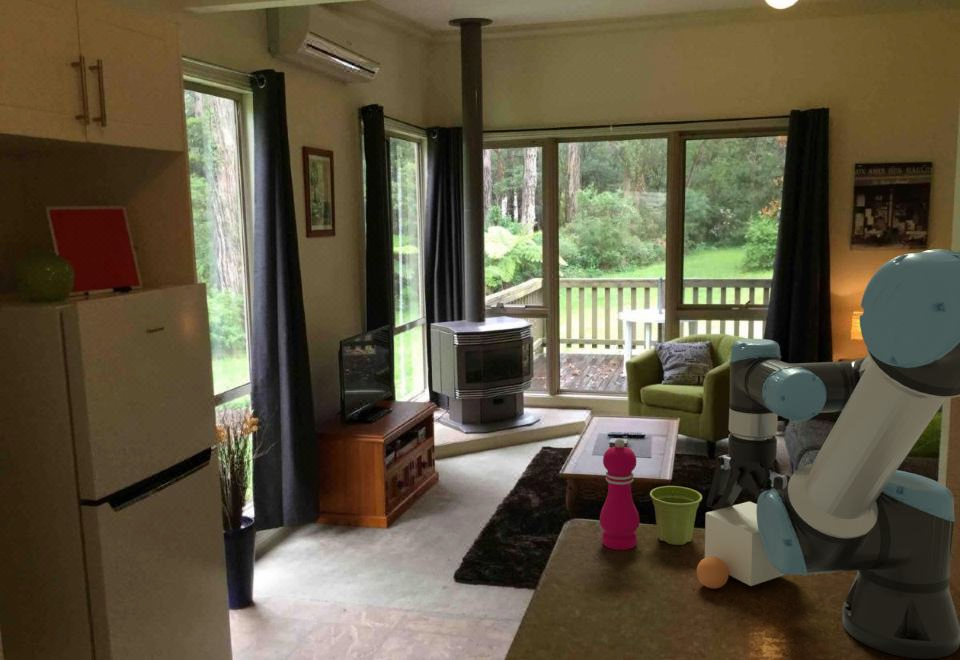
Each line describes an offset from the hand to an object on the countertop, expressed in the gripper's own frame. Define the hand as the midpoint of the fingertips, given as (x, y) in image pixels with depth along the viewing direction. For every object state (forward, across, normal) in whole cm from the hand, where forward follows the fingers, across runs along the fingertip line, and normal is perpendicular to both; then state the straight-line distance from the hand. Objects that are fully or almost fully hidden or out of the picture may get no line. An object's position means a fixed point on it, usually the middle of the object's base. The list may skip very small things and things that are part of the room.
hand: (748, 562), depth 136 cm
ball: (0, 0, +8) cm, 8 cm away
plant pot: (+3, +18, 0) cm, 18 cm away
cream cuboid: (+1, 0, 0) cm, 1 cm away
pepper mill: (+3, +22, +10) cm, 24 cm away
